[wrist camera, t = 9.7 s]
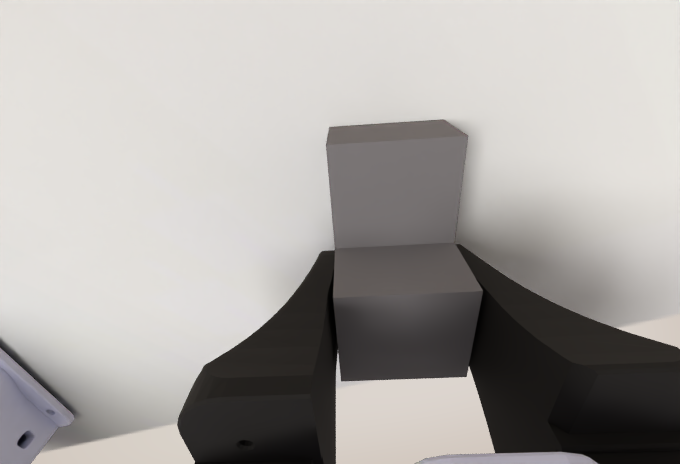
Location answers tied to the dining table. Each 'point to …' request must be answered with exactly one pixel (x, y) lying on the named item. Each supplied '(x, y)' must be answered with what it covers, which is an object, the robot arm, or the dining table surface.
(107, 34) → the dining table surface
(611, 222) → the dining table surface
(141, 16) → the dining table surface
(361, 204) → the gray stepped block
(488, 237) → the dining table surface
